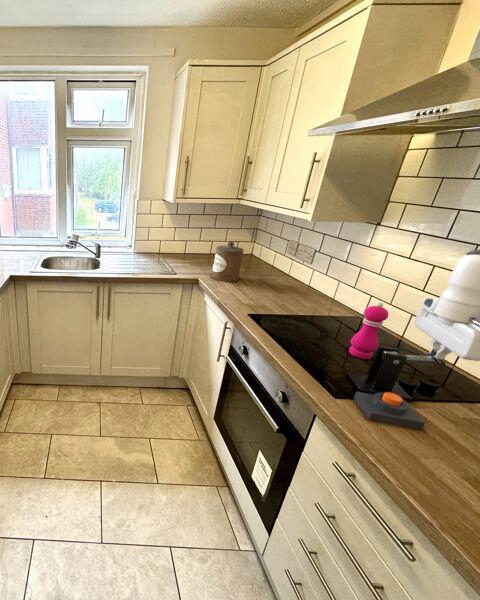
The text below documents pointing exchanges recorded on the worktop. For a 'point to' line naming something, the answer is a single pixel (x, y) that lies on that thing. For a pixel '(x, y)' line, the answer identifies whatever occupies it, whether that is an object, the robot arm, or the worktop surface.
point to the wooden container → (227, 262)
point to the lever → (418, 357)
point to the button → (392, 399)
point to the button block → (388, 411)
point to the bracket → (382, 374)
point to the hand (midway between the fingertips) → (436, 356)
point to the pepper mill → (368, 332)
